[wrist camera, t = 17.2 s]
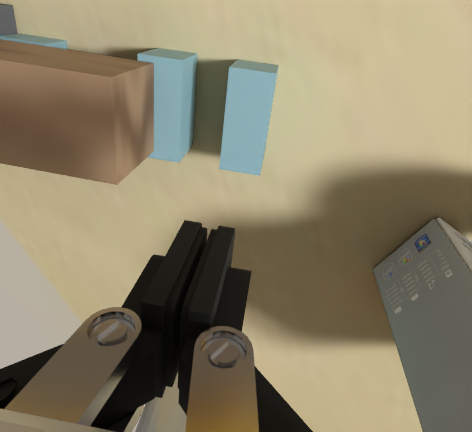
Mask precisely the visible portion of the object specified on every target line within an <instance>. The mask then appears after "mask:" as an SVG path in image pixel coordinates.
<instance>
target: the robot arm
mask: <svg viewBox="0 0 472 432" xmlns="http://www.w3.org/2000/svg"><path fill="white" fill-rule="evenodd" d="M234 236H235V228H230V227H223V226H218V229H217V230H215V229H211V232H210V234H209V237H208V240H207V228H202V223H199V222H192V221H186V220H185V221H184V222H183V224H182V226H181V228H180V230H179V232H178V234H177V235H176V237H175V239H174V241H173V243H172V245H171V247H170V248H169V250H168V252H167V254H166V256H159V255H153V256H152V257H151V258H150V260H149V262H148V263H147V265H146V267H145V268H144V270H143V272H142V273H141V275H140V277H139V279H138V280H137V282H136V284H135V285H134V287H133V289H132V290H131V292H130V294H129V295H128V297H127V299H126V300H125V302H124V304H123V305H122V307H112V308H107V309H103V310H100V311H98V312H96V313H94V314H93V315H91V316H90V317H89V318H88V319H87V320H86V321H85V322H84V323H83V324H82V325H81V326H80V327H79V328H78V329H77V330H76V331H75V333H74V334H73V335H72V336H71V337H70V338H69V339H68V340H67V341H66V342H65V343H64V344H62V345H59V346H57V347H54V348H52V349H50V350H47V351H44V352H42V353H39V354H37V355H34V356H32V357H29V358H27V359H25V360H22V361H19V362H17V363H14V364H12V365H9V366H7V367H4V368H2V369H0V432H132V431H133V429H134V427H135V425H136V423H137V421H138V420H139V418H140V420H139V423H138V425H137V428H136V431H135V432H313V431H312V430H311V429H310V428H309V427H308V426H307V425H306V424H305V422H304V421H303V420H302V419H301V418H300V417H299V416H298V414H297V413H296V412H295V411H294V410H293V409H292V408H291V407H290V405H289V404H288V403H287V402H286V401H285V400H284V399H283V398H282V396H281V395H280V394H279V393H278V392H277V391H276V390H275V388H274V387H273V386H272V385H271V384H270V383H269V382H268V381H267V379H266V378H265V377H264V376H263V375H262V374H261V373H260V372H259V370H258V369H257V368H256V367H255V366H254V353H253V347H252V343H251V341H250V340H249V339H248V337H247V336H246V335H245V334H244V333H242V326H243V320H244V314H245V307H246V301H247V295H248V288H249V282H250V276H251V271H248V270H242V269H237V268H231V260H232V252H233V244H234ZM206 241H207V242H206ZM144 404H145V407H144ZM143 408H144V409H143ZM142 411H143V412H142ZM141 414H142V415H141ZM140 416H141V417H140Z"/></svg>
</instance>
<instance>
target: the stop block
mask: <svg viewBox="0 0 472 432" xmlns="http://www.w3.org/2000/svg"><path fill="white" fill-rule="evenodd" d="M10 34H17V28H16V22H15V16H14V11H13V5H8V4H0V35H10Z"/></svg>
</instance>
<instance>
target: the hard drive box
mask: <svg viewBox="0 0 472 432" xmlns="http://www.w3.org/2000/svg"><path fill="white" fill-rule="evenodd" d="M373 272H374V275H375V279H376V282H377V285H378V288H379V292H380V295H381V298H382V301H383V305H384V308H385V311H386V315H387V318H388V321H389V324H390V327H391V331H392V334H393V337H394V340H395V343H396V347H397V350H398V353H399V356H400V359H401V363H402V366H403V369H404V372H405V375H406V379H407V382H408V385H409V388H410V391H411V395H412V398H413V401H414V404H415V408H416V411H417V414H418V417H419V421H420V424H421V427H422V430H423V432H472V242H471V241H470V240H469V239H467V238H466V237H465V236H463V235H462V234H461V233H459V232H458V231H456V230H455V229H454V228H453V227H451V226H450V225H449V224H447V223H446V222H445V221H443V220H442V219H441V218H437V219H432V220H431V221H430V222H429V223H428V224H427V225H425V226H424V227H423V228H422V229H421V230H419V231H418V232H417V233H416V234H415V235H413V236H412V237H411V238H410V239H409V240H407V241H406V242H405V243H404V244H403V245H401V246H400V247H399V248H398V249H397V250H396V251H394V252H393V253H392V254H391V255H390V256H388V257H387V258H386V259H385V260H384V261H382V262H381V263H380V264H379V265H378V266H376V267H375V268H374V269H373Z"/></svg>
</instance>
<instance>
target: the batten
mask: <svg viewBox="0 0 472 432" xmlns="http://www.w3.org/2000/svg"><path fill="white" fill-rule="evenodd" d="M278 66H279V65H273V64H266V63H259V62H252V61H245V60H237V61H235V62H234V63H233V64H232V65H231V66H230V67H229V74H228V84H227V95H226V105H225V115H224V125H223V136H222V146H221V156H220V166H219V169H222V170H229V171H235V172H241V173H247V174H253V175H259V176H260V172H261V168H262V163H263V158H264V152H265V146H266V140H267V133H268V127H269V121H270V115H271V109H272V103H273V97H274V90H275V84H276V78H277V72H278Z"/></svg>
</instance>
